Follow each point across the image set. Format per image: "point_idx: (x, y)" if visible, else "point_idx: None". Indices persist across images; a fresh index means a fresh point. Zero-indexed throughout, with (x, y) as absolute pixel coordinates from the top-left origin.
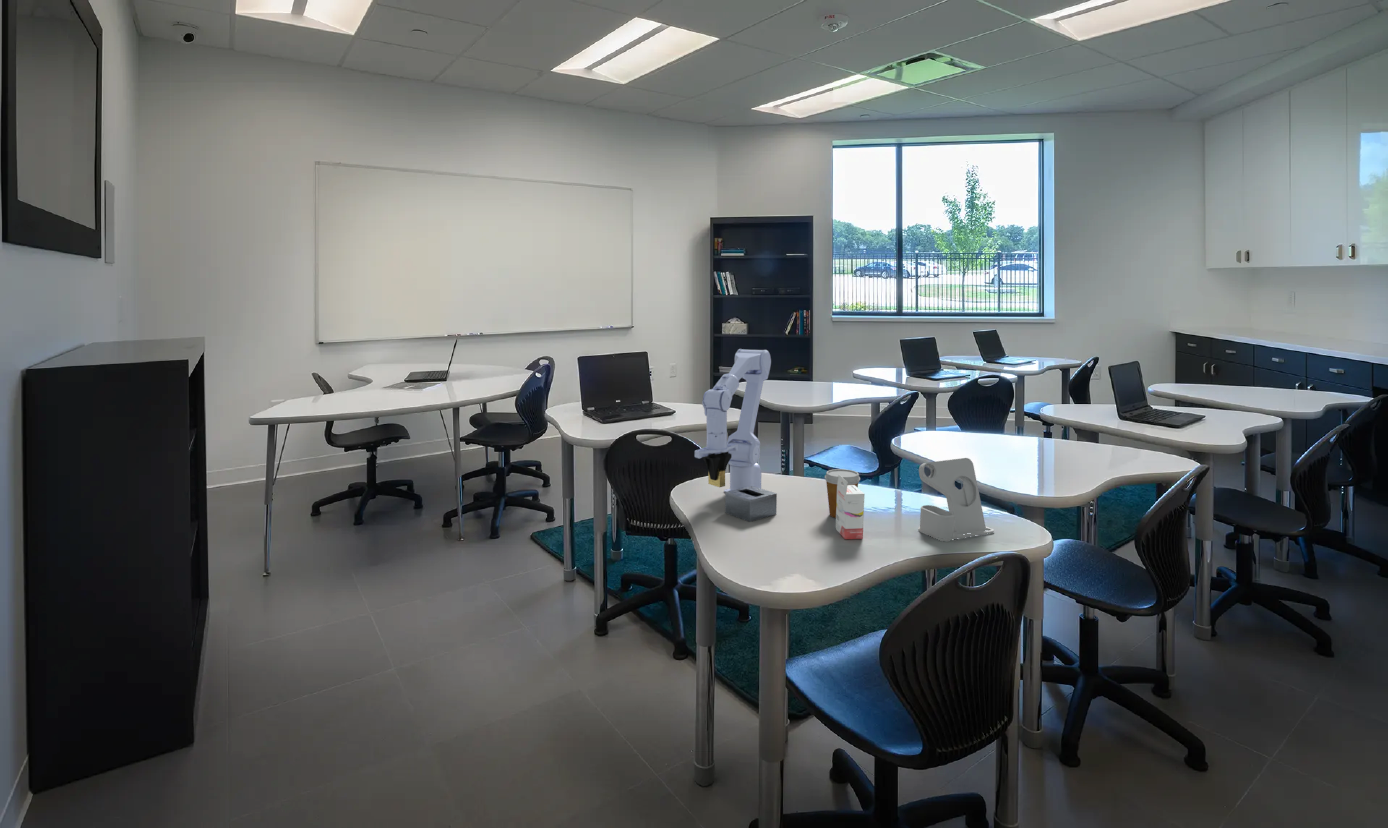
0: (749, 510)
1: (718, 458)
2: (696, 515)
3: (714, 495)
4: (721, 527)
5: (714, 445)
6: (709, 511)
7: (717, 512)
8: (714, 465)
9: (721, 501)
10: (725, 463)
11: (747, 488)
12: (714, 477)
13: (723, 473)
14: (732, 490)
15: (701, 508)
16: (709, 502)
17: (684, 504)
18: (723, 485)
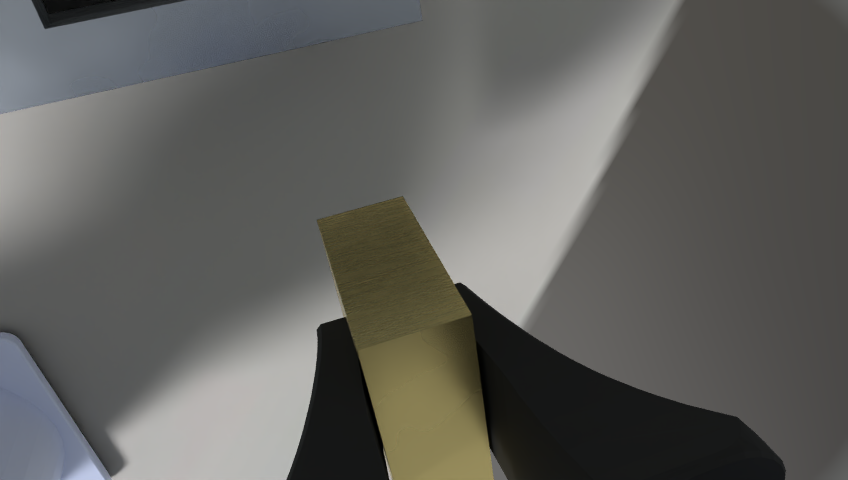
0: None
1: (660, 477)
2: (600, 40)
3: (220, 426)
4: None
5: None
6: (459, 88)
7: (416, 29)
8: (617, 387)
9: (234, 288)
10: (354, 472)
11: (19, 32)
12: (482, 305)
13: (384, 313)
14: (297, 42)
15: (469, 185)
16: None
17: (516, 307)
18: (347, 218)
